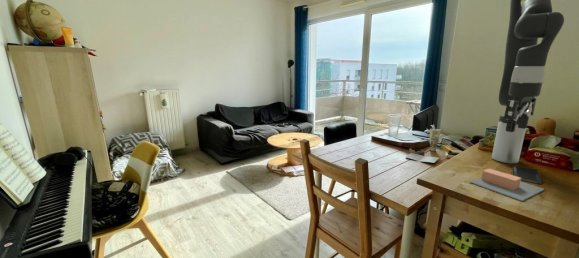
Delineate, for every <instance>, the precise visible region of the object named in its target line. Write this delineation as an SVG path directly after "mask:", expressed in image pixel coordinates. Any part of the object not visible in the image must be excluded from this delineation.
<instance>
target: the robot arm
mask: <svg viewBox="0 0 579 258" xmlns="http://www.w3.org/2000/svg"><path fill="white" fill-rule="evenodd" d="M522 1H523V0H510V5H509V7H510V8H509V22H508V28H507V36H506V43H505V51H504V52H505V53H504V64H503V65H504V66H503V73H502V78H501V84H500V88H499V92H498V103H499V105H501V106H502V107H503V106H505V111H504V114H501V115H499V118H498V124H497V129H496V134H495V139H494V144H493V149H492V154H491V159H492V160H494V161H497V162H501V163H505V164H518V163H519V161H520V156H521V152H522V148H523V143H524V139H525V134H526V129H527V128H528V124H529V120H530V118H531V117H532V116H533V115H534V112H535V107H536V103H537V97H539V96H540V95H541V90H542V88H543V87H542V85H543V82H544V78H545V72H546V71H545V70H546V64H547V59H548V56H549V52H550V50H551V47H552V45H553V43H554V41H555V39H556V38H557V36H558V34H559V33H560V31H561V30H562V27H563V26H564V23H565V17H564V15H563V14H562V13H561V12H559V11H558V12H557V11H553V6H552V1H551V0H524V2H523V3H522ZM539 39H541V41H540V42H538V40H539Z"/></svg>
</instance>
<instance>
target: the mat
mask: <svg viewBox="0 0 579 258" xmlns="http://www.w3.org/2000/svg"><path fill="white" fill-rule="evenodd" d="M481 178H482V176H481V177H479V178H477V179H473V180H470V181H469V183H470V184H472V185H476V186H479V187H480V188H484V189H487V190H489V191H492V192H495V193H498V194H501V195H503V196H505V197H508V198H510V199H514V200H517V201H519V202H524V201H526V200H528V199H530V198H533V197H534V196H536V195H538V194H540V193H541V192H543V191H545V190H546V189H545V188H543V187H539V186H536V185H533V184H531V183H528V182H527V183H526V182H525V181H521V182H520V186H519V188H517V189H515V190H511V189H508V188H505V187H502V186H499V185H496V184H493V183H490V182H487V181H484V180H481Z"/></svg>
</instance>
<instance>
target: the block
mask: <svg viewBox="0 0 579 258" xmlns="http://www.w3.org/2000/svg"><path fill="white" fill-rule="evenodd" d="M481 177H482V178H481ZM481 177H480V178H481V180H484V181H487V182H490V183H493V184H496V185H499V186H502V187H505V188H508V189H511V190H515V189H517V188H519V186H520V182H522V181H521V178H520V177H517V176H513V174H510V173H506V172H502V171H499V170H496V169H492V168H486V169H484V170H482V174H481Z"/></svg>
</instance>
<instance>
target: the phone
mask: <svg viewBox="0 0 579 258" xmlns="http://www.w3.org/2000/svg"><path fill="white" fill-rule="evenodd" d="M512 175H513V176H517V177H520V178H521V182H525V183H526V182H527V183H529V184H536V185H542V183H543V181H542V176H541V173H540V170H538V169H536V168H530V167H524V166H519V165H512Z"/></svg>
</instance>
